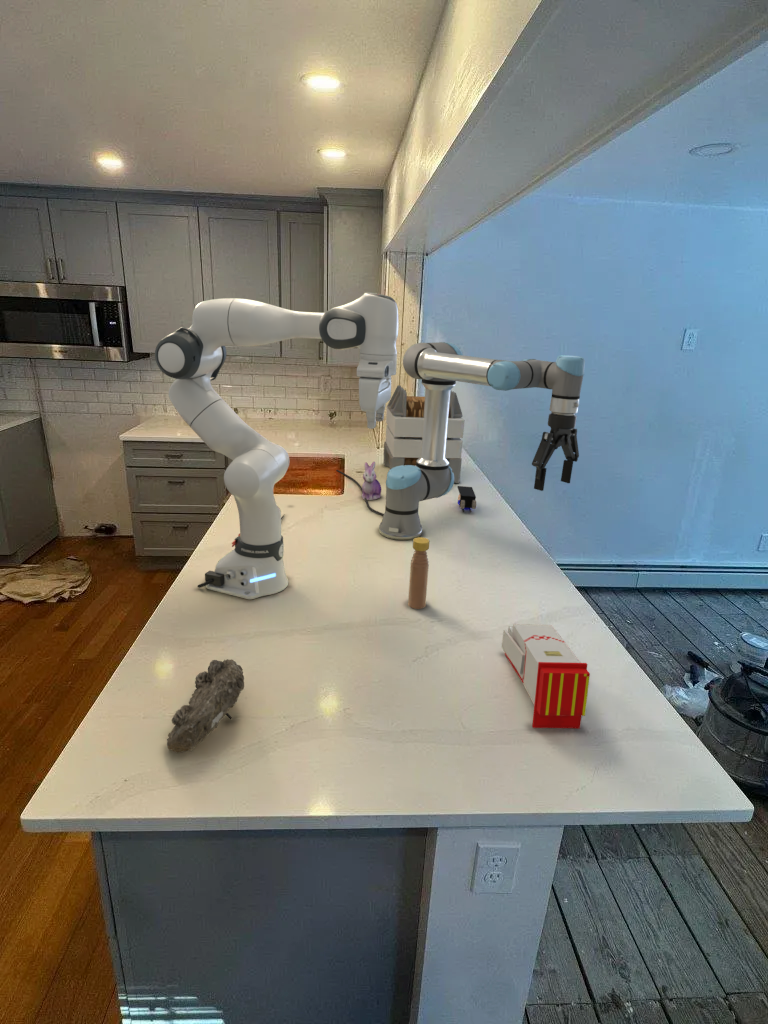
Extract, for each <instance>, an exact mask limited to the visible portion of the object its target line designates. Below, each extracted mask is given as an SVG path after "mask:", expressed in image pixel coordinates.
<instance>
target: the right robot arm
mask: <svg viewBox="0 0 768 1024" xmlns="http://www.w3.org/2000/svg"><path fill="white" fill-rule="evenodd" d="M585 365H586V360H585V358H584V357H582V356H578V355H566V354H565V355H564V354H563V355H558V356H557V357H556V360H555V361H549V360H541V359H536V358H524V359H521V360H506V359H505V360H504V359H503V360H502V359H496V358H487V357H479V356H471V355H464V354H463V352H462V350H461V349H460V347H459V346H457V345H456V344H455V343H451V342H445V341H443V342H442V341H441V342H440V341H439V342H438V341H437V342H417V343H414V344H412V345H411V346H409V347H408V348H407V350H406V351H405V353H404V355H403V358H402V366H403V369H404V372H405V373H406V374H407V375H408V376H409V377H411V378H412V379H415V380H421V385H422V386H423V387H424V389H425V392H424V397H425V404H424V419H423V434H422V449H421V457H420V458H418V459H417V461H416V466H413V465H401V466H396V467H394V468H392V469H390V468H389V470H388V472H387V474H386V479H385V504H384V505H385V507H384V508H385V509H384V512H380V511H378V510H375V509H374V508H372V507H371V506H370V504H369V500H367V499H366V498H365V500H364V502H365V504H366V507H367V508H368V509H369V511H371V512H373V513H375V514H377V515H380V516H382V519H381V522H379V525H378V533H379V534H380V535H381V536H382V537H385V538H387V539H389V540H395V541H410V540H414V538H417V537H422V535H423V525H422V524H421V518H420V515H419V507H420V506H419V505H420V502H423V501H427V500H431V499H437V498H440V497H443V496H446V495H448V493H450V492H451V490H452V489H453V488H454V487H453V486H454V484H455V483H454V473H452V469H451V467H450V466H449V462H448V461H447V459H446V458H445V453H446V441H447V428H448V416H449V404H450V392H451V391H452V389H453V388H454V387H455V386H456V384H457V382H461V383H465V384H473V385H479V386H487V387H491V388H492V389H494V390H496V391H503V392H504V391H511V390H520V389H532V388H533V389H534V388H539V389H546V390H551V398H550V404H549V413H548V418H547V419H548V420H547V426H548V427H549V428H550V431H549V432H548V431H543V432H542V435H541V440H540V442H539V445H538V447H537V449H536V452H535V454H534V457H533V460H532V461H531V466H533V467H535V475H534V477H535V478H534V485H533V489H534V490H537V491H539V492H543V491H544V489H545V484H546V483H545V482H546V476H547V468H546V466H547V465H548V463H549V461H550V459H551V457H552V456H553V454H554V453H555V451H556V450H557V449H558V448H560V447H561V449H562V452H563V455H564V458H565V459H563V463H562V468H561V469H562V470H561V475H560V482H562V483H566V484H571V478H572V472H573V466H574V463H576V462H578V461H579V457H580V453H579V444H578V428H576V423H577V419H578V416H577V414H578V412H579V411H578V410H579V406H580V397H581V391H582V385H583V380H584V376H585ZM335 472H337V473H339V474H341V475H343V476H345V477H346V478H348V479H350V480H351V481H353V482H354V483H355V484H356V485H357V486H358V487H359V489H360V491H361V494H362V493H363V491H362V485H361V484H360V483H359V482H358V481H356V479H354V478H352V476H350V475H348V474H347V473H344V472H343V471H342V470H341V471H340V470H339V469H336V471H335Z"/></svg>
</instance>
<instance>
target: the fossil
mask: <svg viewBox="0 0 768 1024" xmlns="http://www.w3.org/2000/svg"><path fill="white" fill-rule="evenodd" d="M243 670H244V669H243V667H242V665H240V664H237V662H236V661H235V660H234V659H232V658H231V659H227V658H226V659H224V660H223V661H222V660H217V659H212V660H211V661H210V663H209V665H208V666H207V671H201V672H199V673H198V674H197V675H196V676H195V680H194V684H195V685H194V687H195V689H194V690H193V693H192V694H191V697H190V698H189V700H188V704H184V705H182V706H181V707H180V709H177V710H176V711H175V713H174V715H173V716H172V718H171V723H172V724H173V727H172V730H171V731H170V732H168V734H167V738H166V741H167V742H166V745H167V749H168V750H169V751H173V752H174V753H176V754H178V753H182V752H188V751H189V752H192V751H193V750H195V748H196V747H197V746H199V744H200V743H201V742H203V741H204V740H205V739H206V738H207V737H208V736H209V735H210V734H211V733H212V732H214V730H215V729H217V727H218V726H219V724H220V722H221V721H222V720H223V719H224V718H225V716H226V717H227V719H229V720H233V717H232V715H230V714H229V710H230V709H231V708H234V706H235V704H236V703H237V702H238V699H239V697H240V695H241V693H242V691H243V690H245V689H244V688H245V675H244V671H243Z"/></svg>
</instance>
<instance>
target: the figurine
mask: <svg viewBox="0 0 768 1024" xmlns="http://www.w3.org/2000/svg"><path fill="white" fill-rule="evenodd" d="M375 468H376V461H372V463H371V464H370V465H369V464H368V462H367V461H366V462H364V472H363V474H362V479H363V483H362V485H361V487H362V491H363V493H362V491H361V498H362V500H364V501H365V498H366V499H367V501H373V500H377V499H380V498H381V497H382V496H381V495H382V486H381V483H380V481H379V480H378V479H377V474H376V471H375Z"/></svg>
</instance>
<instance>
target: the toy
mask: <svg viewBox="0 0 768 1024" xmlns="http://www.w3.org/2000/svg"><path fill="white" fill-rule="evenodd" d="M507 629H508V630H507ZM507 629H503V633H502V640H501V649H502V650H503V652H504V656H505V657H506V659H507V660H508V662H509V664H510V665H511V667H512V669H513V671H514V672H515V673H516V675H517V676H518V678H519V679H520V681H521V683H522V684H523V687H524V688H525V690H526V692H527V694H528V696H529V698H530V700H531V702H532V704H533V715H532V726H531V727H532V728H533V729H581V723H582V717H585V716H586V710H587V701H588V695H589V694H588V693H589V685H590V677H591V674H590V672H589V671H588V663H587V662H581V660H580V659H579V658H578V657H577V655H576V654H575V652H573V651H572V649H571V647H570V646H569V645H568V644H567V643H566V641H565V640H564V639H563V638H562V636H561V635H560V634H559V632H558V630H556V629H555V627H554V626H553V624H539V623H538V624H536V623H535V624H532V623H531V624H530V623H512V625H511V626H510V625H508V628H507Z"/></svg>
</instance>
